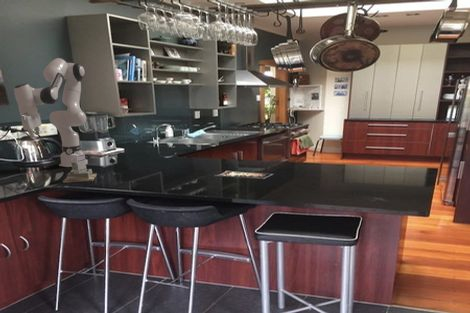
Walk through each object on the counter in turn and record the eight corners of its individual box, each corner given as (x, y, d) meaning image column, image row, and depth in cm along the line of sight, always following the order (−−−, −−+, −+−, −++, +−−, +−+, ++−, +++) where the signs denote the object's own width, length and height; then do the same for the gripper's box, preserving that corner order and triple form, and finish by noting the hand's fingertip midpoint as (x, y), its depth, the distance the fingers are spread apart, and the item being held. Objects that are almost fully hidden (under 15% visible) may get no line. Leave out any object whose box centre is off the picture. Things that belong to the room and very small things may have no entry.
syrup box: (87, 176, 200) (85, 153, 197) (79, 178, 195) (76, 154, 192) (81, 175, 203) (78, 152, 200) (72, 177, 197) (70, 154, 195)
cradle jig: (69, 176, 204) (68, 169, 203) (96, 175, 207) (96, 168, 206) (63, 182, 191) (62, 175, 190) (92, 180, 194) (91, 173, 193)
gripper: (28, 113, 182) (35, 137, 185) (40, 110, 201) (46, 132, 205) (15, 114, 181) (23, 139, 184) (29, 111, 200) (35, 134, 203)
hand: (35, 135), depth 195 cm, fingers open, 8 cm apart
